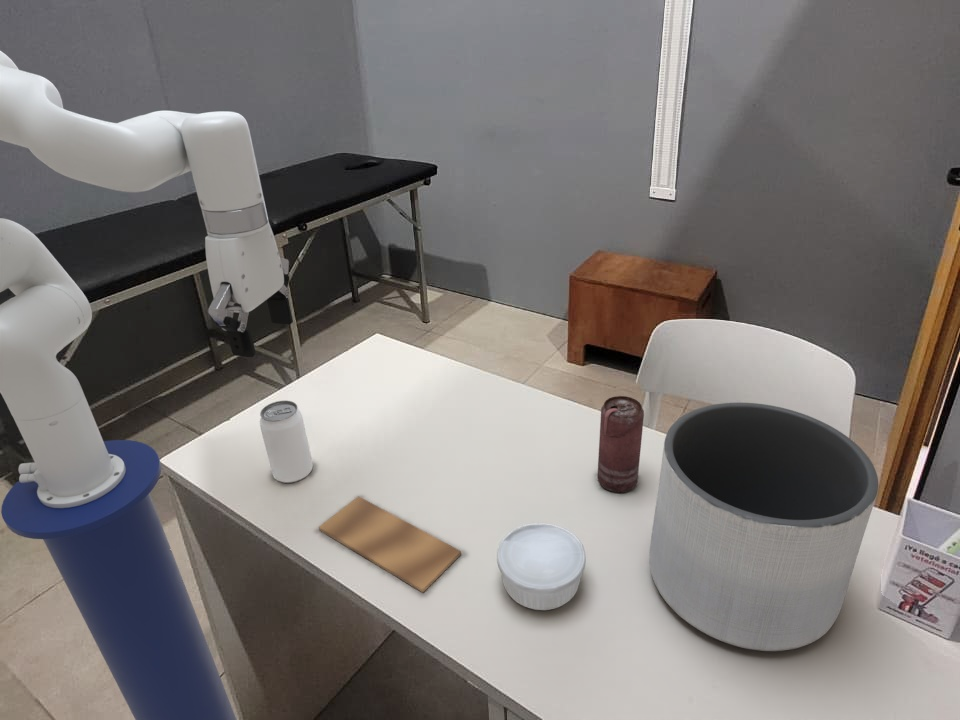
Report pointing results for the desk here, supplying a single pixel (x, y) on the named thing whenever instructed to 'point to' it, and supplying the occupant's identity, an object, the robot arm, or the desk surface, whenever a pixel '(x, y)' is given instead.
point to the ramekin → (541, 565)
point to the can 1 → (286, 441)
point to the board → (391, 543)
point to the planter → (759, 523)
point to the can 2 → (620, 443)
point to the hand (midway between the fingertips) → (264, 338)
